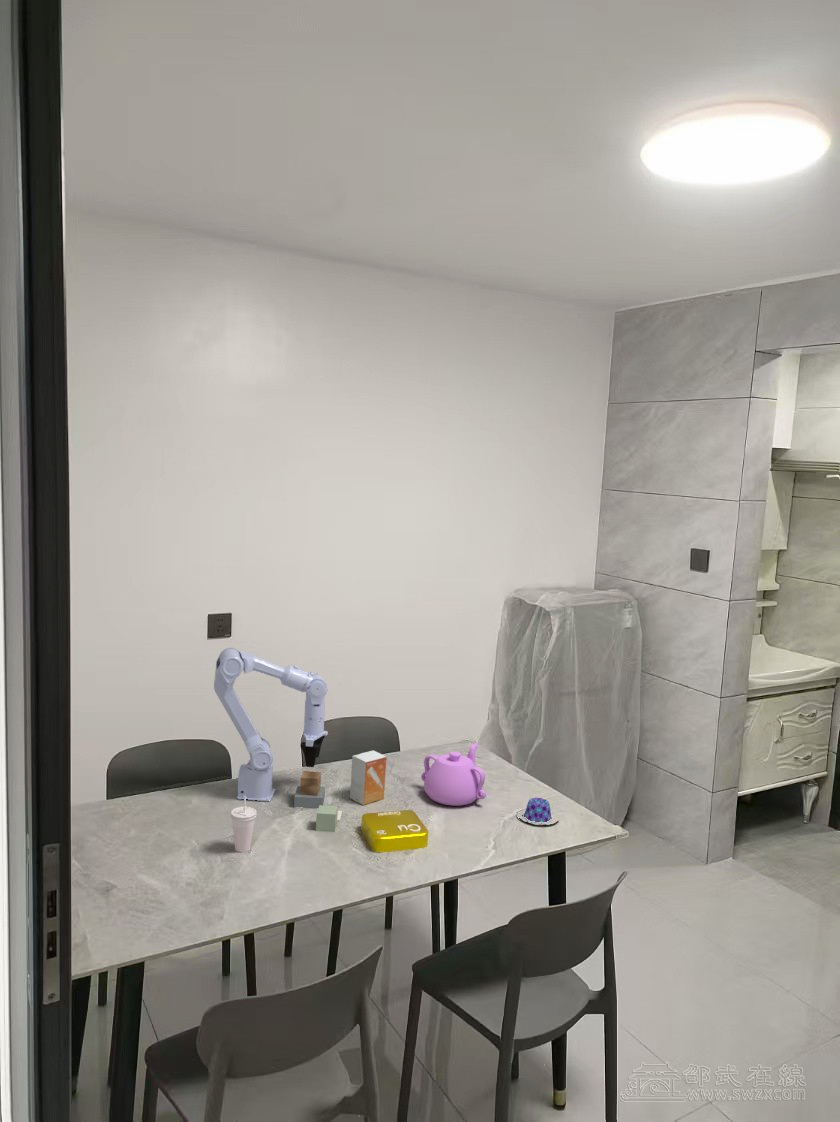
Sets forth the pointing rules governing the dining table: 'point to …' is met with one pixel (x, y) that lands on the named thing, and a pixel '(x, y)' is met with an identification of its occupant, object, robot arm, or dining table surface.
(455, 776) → the teapot
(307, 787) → the walnut cube
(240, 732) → the robot arm
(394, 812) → the element tile
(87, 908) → the dining table surface
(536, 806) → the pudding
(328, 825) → the sage cube
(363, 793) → the small box
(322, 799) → the slate block
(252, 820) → the smoothie
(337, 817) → the card
